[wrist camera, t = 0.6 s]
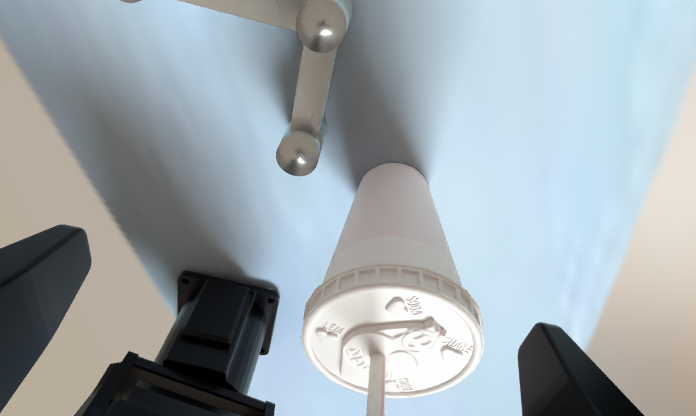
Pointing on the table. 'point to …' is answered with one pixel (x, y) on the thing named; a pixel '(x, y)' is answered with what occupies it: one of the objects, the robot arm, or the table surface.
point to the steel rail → (315, 68)
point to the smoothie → (392, 298)
